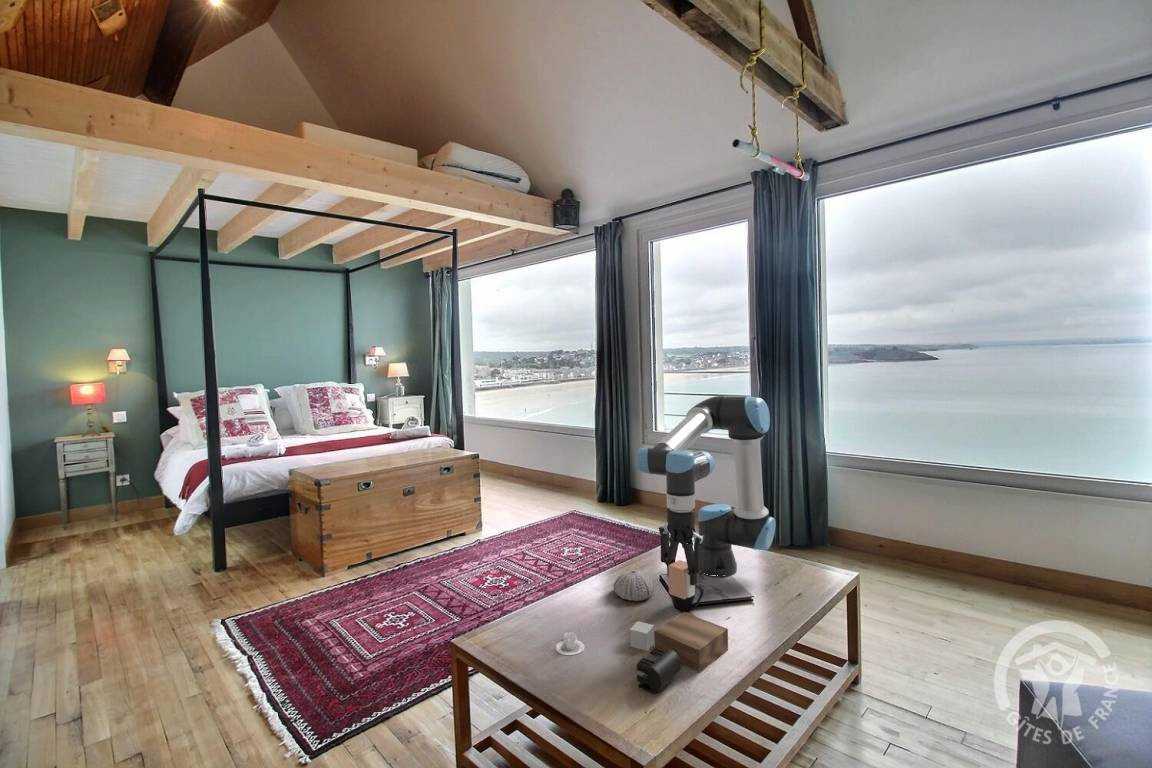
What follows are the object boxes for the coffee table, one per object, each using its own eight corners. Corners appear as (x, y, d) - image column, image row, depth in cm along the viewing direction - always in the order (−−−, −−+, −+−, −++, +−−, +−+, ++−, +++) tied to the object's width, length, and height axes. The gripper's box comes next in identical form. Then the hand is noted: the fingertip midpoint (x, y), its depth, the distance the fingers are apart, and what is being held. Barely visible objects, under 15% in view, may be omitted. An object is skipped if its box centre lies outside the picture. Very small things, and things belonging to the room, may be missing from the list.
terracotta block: (679, 587, 154) (679, 559, 154) (695, 593, 151) (694, 564, 150) (669, 593, 151) (668, 565, 150) (684, 599, 147) (683, 570, 147)
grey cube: (637, 638, 157) (637, 621, 157) (654, 642, 155) (653, 625, 154) (630, 646, 153) (630, 629, 153) (647, 651, 150) (646, 633, 150)
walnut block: (684, 632, 159) (683, 612, 159) (728, 650, 149) (727, 628, 149) (654, 652, 150) (654, 630, 149) (699, 673, 140) (699, 650, 139)
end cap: (661, 699, 130) (661, 671, 130) (636, 688, 134) (635, 661, 134) (682, 678, 138) (681, 652, 137) (657, 668, 142) (656, 643, 142)
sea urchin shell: (629, 582, 194) (628, 560, 193) (662, 593, 185) (661, 570, 184) (605, 596, 184) (605, 573, 183) (639, 608, 175) (638, 583, 174)
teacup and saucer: (565, 637, 159) (565, 623, 159) (590, 643, 156) (590, 629, 155) (550, 652, 152) (550, 638, 151) (576, 659, 148) (575, 644, 148)
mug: (693, 621, 165) (693, 590, 165) (664, 606, 175) (663, 577, 174) (711, 612, 171) (710, 582, 170) (681, 598, 180) (681, 570, 179)
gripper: (645, 505, 153) (647, 587, 155) (701, 518, 140) (702, 607, 142) (662, 499, 158) (663, 578, 160) (717, 512, 145) (718, 598, 147)
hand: (681, 592), depth 151 cm, fingers closed on terracotta block, 5 cm apart
